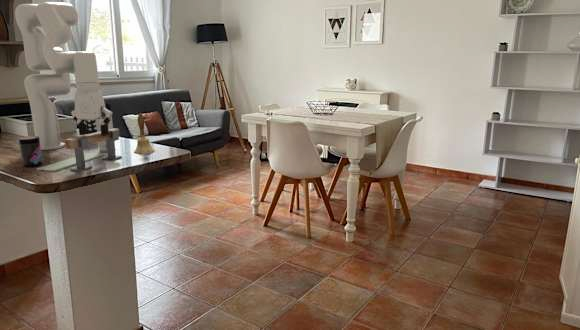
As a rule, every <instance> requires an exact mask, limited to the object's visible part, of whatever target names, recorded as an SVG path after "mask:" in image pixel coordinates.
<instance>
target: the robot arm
mask: <svg viewBox="0 0 580 330" xmlns="http://www.w3.org/2000/svg"><path fill="white" fill-rule="evenodd" d="M14 16H15V21H16V24H17V26H18V29H19V30H20V33H21V35H22V40H23V41H22V42H23V43H22V44H23V49H24V56H25V58H24V59H25V63H26V66H27V68H28V69H29V70H30V71H34V72H35V71H36V72H43V71H44V72H45V71H50V72H51V71H52V72H54V73H35V74H29V75H28V76H26V77H25V78H24V83H23V84H24V85H23V86H24V89H25V92H26V94H27V97H28V102H29V106H30V112H31V119H32V124H33V131H34V136H39V139H40V146H41V151H51V150H56V149H61V148H64V147H66V144H65V142H63V141H62V139H61V134H60V133H61V132H60V126H59V119H58V113H57V108H56V104H55V103H54V102H53V101H52V100H51V99H50V98H49V97H59V96H66V95H69V94H70V92H71V87H72V86H71V84H72V83H71V74H74V80H75V84H74V87H75V88H76V91H75V92H74V109H73V110H72V111H71V112H70V113H71V116H72V118H73V120H74V121H75V123H76V125H77V126H78V132H79V136H83V135H86V134H87V127H86V123H85V120H97V119H98V120H99V122H100V123H101V124H102V125H100V128H101V135H102V136H106V135H109V130H108V124H109V122H110V120H111V117H112V116H113V113H114V112H113V111H112V110H111V111H109V110H108V109H106V108H105V105H106V104H105V100H104V95H103V92H102V90H101V87H100V79H99V72H98V71H99V70H98V65H97V64H98V62H97V57H96V54H95V53H94V52H92V51H73V50H72V51H70V50H69V51H65V50H64V49H63V48H60V47H61V46H63V45H64V44H66V43H68V42H69V41H70V40H71V38H72V36H73V32H72V29H71V27H75V26H77V25H78V21H79V13H78V11H77V9H76V7H74V5H72V4H71V3H66V2H53V1H44V2H40V3H21V4H18V5H17V6H16V8H15V11H14ZM40 27H42V29H41V28H40ZM106 114H107V117H106ZM112 118H113V117H112ZM103 120H104V121H103Z"/></svg>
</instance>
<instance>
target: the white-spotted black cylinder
mask: <svg viewBox="0 0 580 330" xmlns="http://www.w3.org/2000/svg"><path fill="white" fill-rule="evenodd" d="M84 123H86V127H87V134H91V133H95V132H97V127H96V120H85V122H84ZM87 134H85V135H87Z"/></svg>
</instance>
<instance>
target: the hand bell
mask: <svg viewBox="0 0 580 330" xmlns="http://www.w3.org/2000/svg"><path fill="white" fill-rule="evenodd" d="M137 124H138V127H139V133H140V135H139V136H140V137H139V138H138V139H137V144H136V147H135V150H134V151H133V153H134V154H138V155H142V154H144V155H145V154H151V153H154V152H155V149H154V148H153V147H152V145H151V143H150V140H149V138H148V137H146V135H145V119H144V116H143V113H138V115H137Z"/></svg>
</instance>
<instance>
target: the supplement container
mask: <svg viewBox="0 0 580 330" xmlns="http://www.w3.org/2000/svg"><path fill="white" fill-rule="evenodd" d="M17 141H18V146H19V152H20V159H21V165H22V167H24V168H35V167H36V168H38V167H41V166H42V165H43V164H44V160H43V152H42V150H41V146H40V139H39V136H35V135H28V136H21V137H17ZM40 165H41V166H40Z"/></svg>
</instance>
